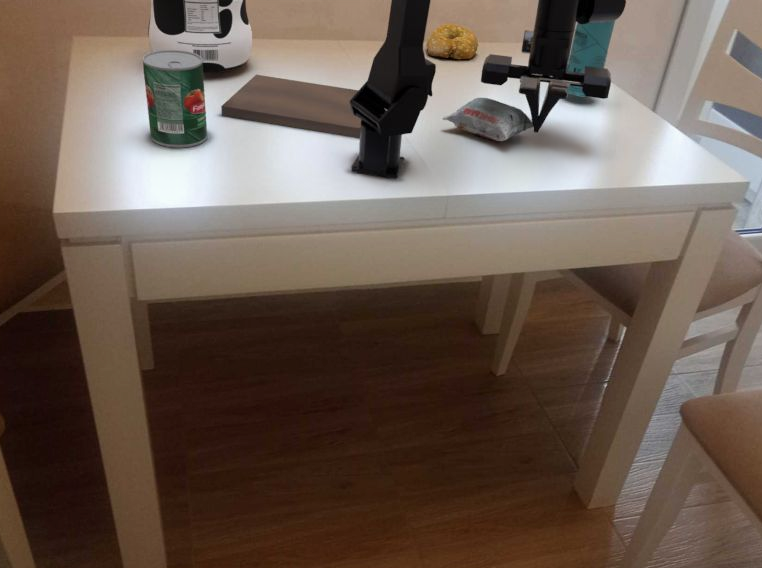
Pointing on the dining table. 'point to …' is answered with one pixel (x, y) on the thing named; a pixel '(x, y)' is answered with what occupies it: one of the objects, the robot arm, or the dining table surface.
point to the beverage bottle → (589, 49)
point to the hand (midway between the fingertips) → (535, 131)
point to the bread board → (295, 105)
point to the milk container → (203, 31)
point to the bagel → (452, 42)
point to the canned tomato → (175, 98)
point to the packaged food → (490, 119)
